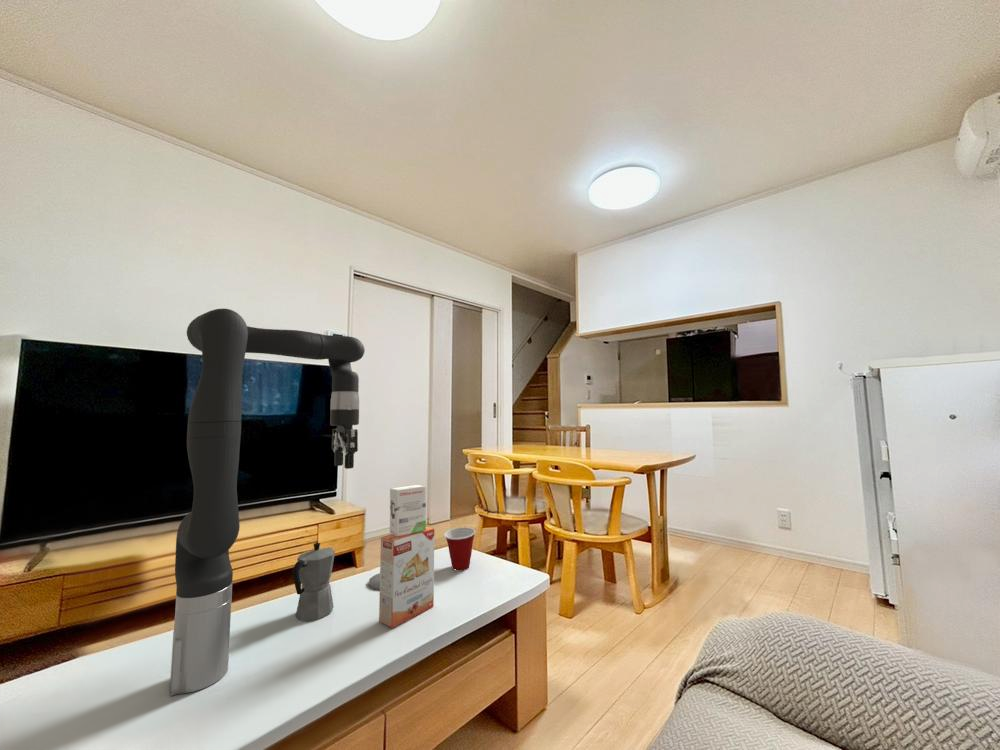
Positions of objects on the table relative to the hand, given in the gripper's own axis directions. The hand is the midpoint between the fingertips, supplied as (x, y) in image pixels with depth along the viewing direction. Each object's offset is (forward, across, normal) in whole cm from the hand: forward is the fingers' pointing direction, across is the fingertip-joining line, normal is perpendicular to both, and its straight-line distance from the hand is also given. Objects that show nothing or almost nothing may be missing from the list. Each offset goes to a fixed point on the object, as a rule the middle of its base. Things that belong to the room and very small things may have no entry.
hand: (343, 467), depth 107 cm
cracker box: (+38, +13, +13) cm, 42 cm away
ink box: (+17, +13, +13) cm, 25 cm away
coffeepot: (+38, -4, -6) cm, 39 cm away
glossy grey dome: (+38, -10, +18) cm, 43 cm away
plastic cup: (+38, -4, +41) cm, 56 cm away
